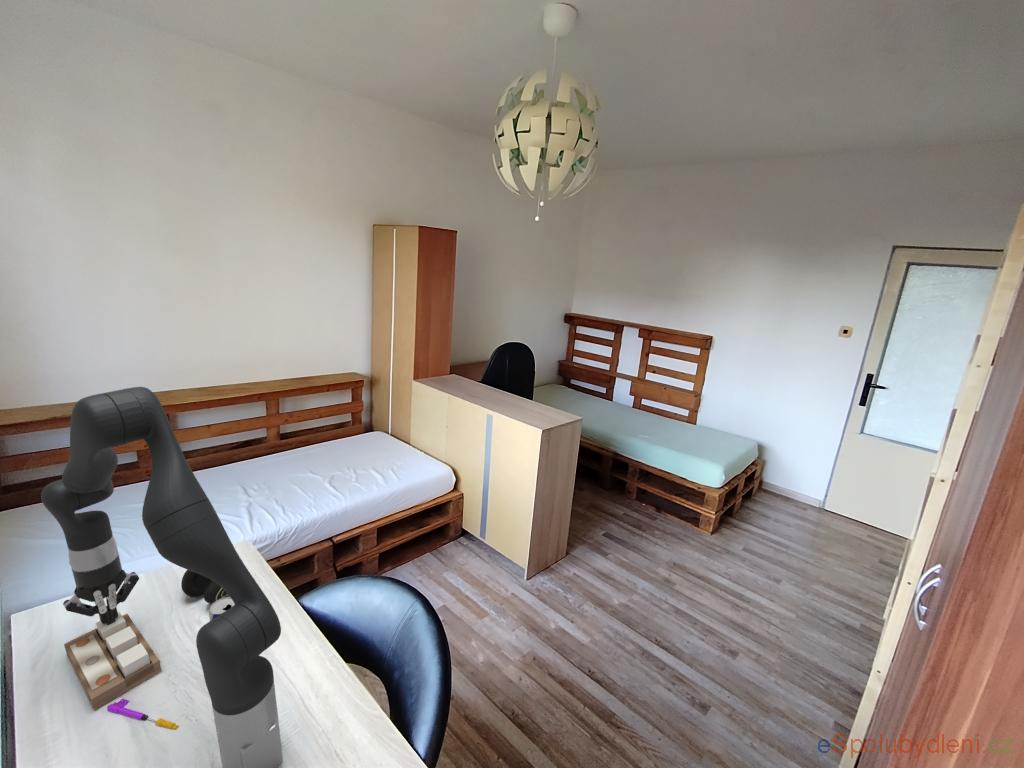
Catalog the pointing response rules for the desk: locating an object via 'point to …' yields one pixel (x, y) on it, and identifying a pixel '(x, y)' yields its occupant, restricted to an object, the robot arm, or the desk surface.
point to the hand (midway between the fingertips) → (110, 621)
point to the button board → (106, 666)
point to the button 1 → (111, 627)
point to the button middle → (121, 641)
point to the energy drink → (220, 607)
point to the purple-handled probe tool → (138, 714)
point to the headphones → (202, 587)
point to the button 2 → (133, 660)
